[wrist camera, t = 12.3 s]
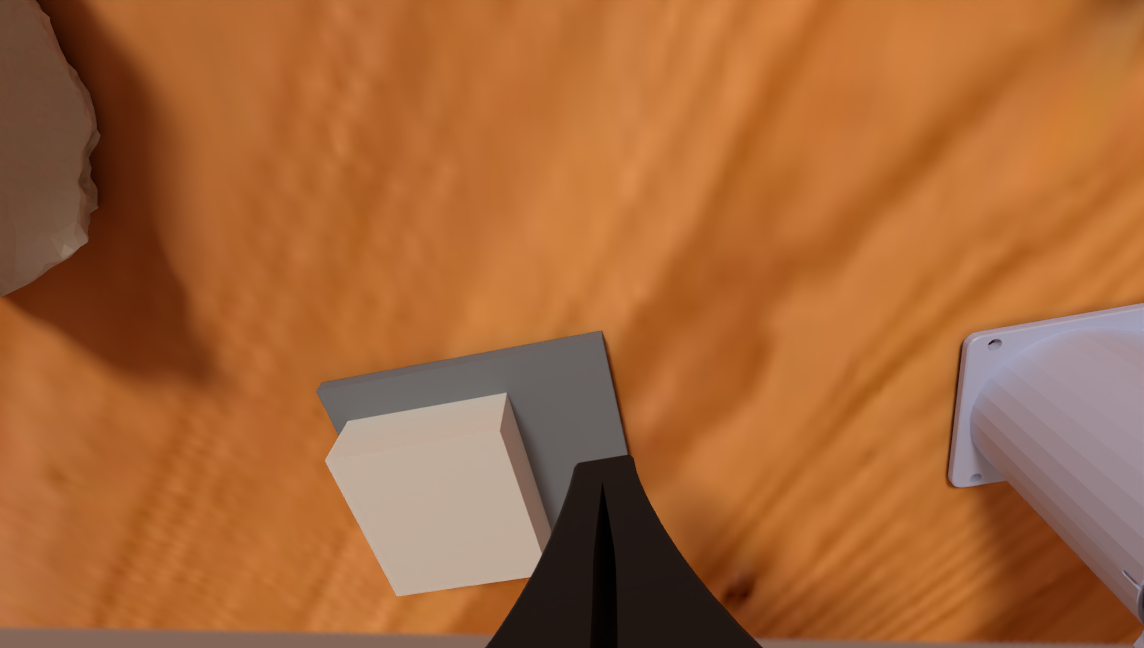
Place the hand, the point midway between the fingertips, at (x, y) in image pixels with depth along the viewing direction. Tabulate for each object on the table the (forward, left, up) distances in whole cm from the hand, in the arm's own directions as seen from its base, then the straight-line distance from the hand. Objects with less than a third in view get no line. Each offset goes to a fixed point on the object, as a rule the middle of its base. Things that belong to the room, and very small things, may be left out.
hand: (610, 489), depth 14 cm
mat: (+6, +7, -10) cm, 14 cm away
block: (+4, +7, -8) cm, 11 cm away
